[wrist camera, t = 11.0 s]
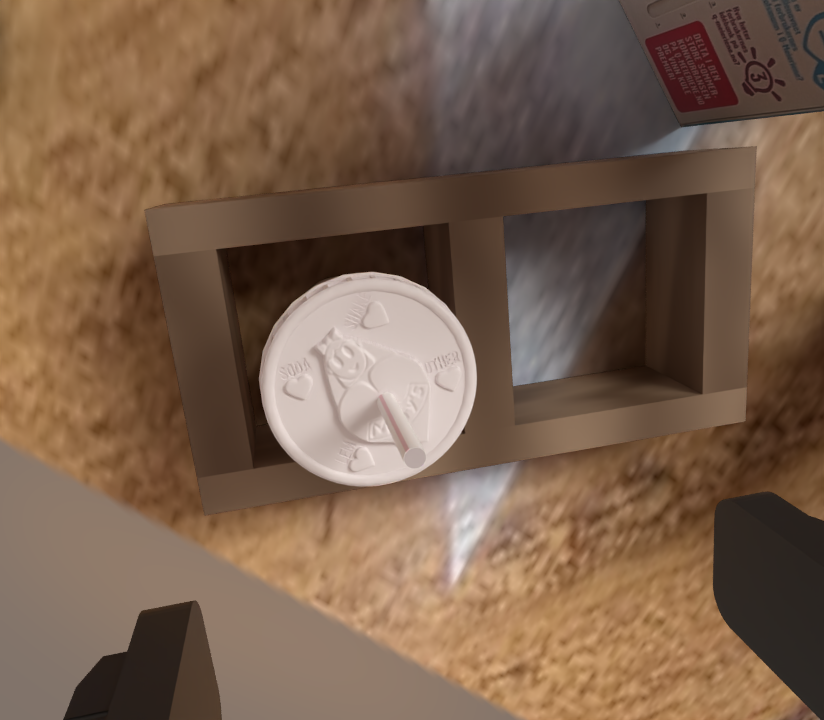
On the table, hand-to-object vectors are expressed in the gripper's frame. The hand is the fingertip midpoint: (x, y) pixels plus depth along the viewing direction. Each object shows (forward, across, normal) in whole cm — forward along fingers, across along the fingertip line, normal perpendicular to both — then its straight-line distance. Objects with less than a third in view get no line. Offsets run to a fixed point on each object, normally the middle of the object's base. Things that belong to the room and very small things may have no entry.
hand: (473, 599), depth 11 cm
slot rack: (+20, -4, 0) cm, 20 cm away
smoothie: (+20, 0, 0) cm, 20 cm away
